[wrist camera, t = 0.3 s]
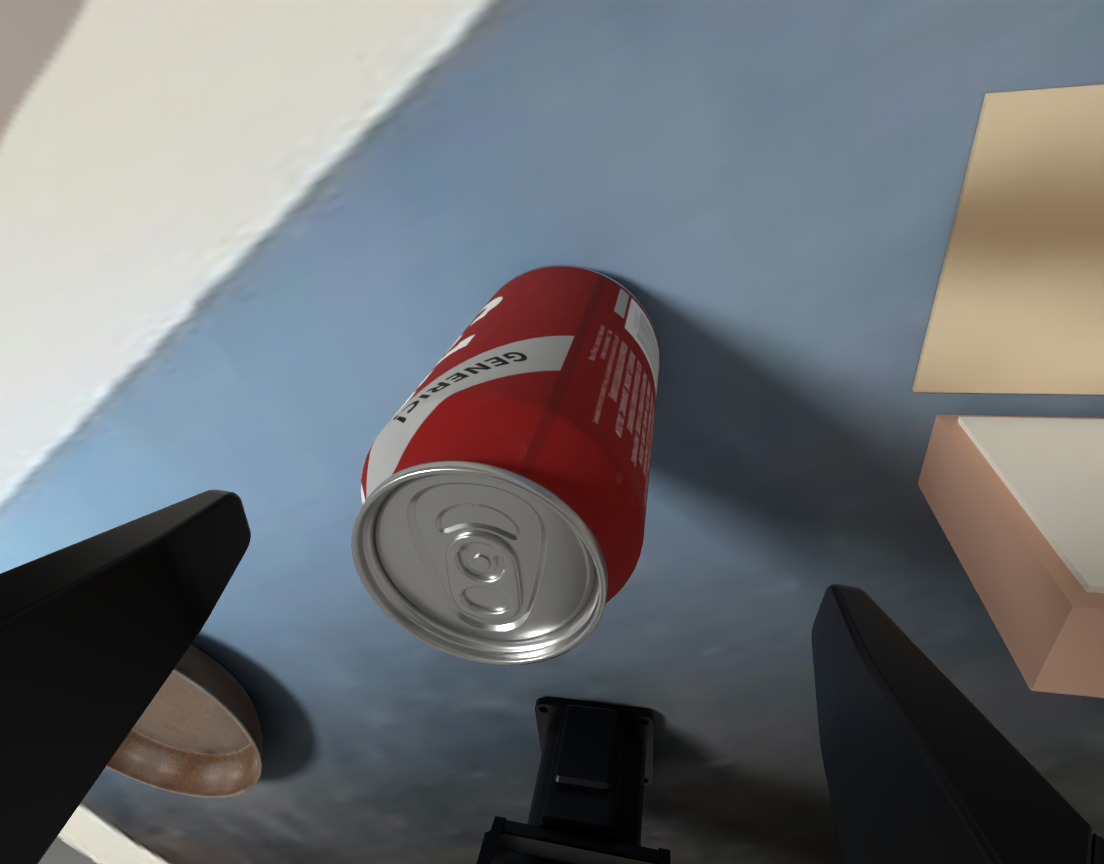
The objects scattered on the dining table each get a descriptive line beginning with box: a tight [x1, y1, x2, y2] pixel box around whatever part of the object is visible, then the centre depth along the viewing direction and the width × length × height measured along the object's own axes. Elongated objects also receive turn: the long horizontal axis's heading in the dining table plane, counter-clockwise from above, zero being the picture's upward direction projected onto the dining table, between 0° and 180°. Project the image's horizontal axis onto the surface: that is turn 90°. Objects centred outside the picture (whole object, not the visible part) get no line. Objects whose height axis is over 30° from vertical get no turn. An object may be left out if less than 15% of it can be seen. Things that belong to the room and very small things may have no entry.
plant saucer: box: [106, 644, 263, 798], centre depth 40 cm, size 18×18×3 cm
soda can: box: [352, 265, 660, 665], centre depth 18 cm, size 7×7×12 cm
